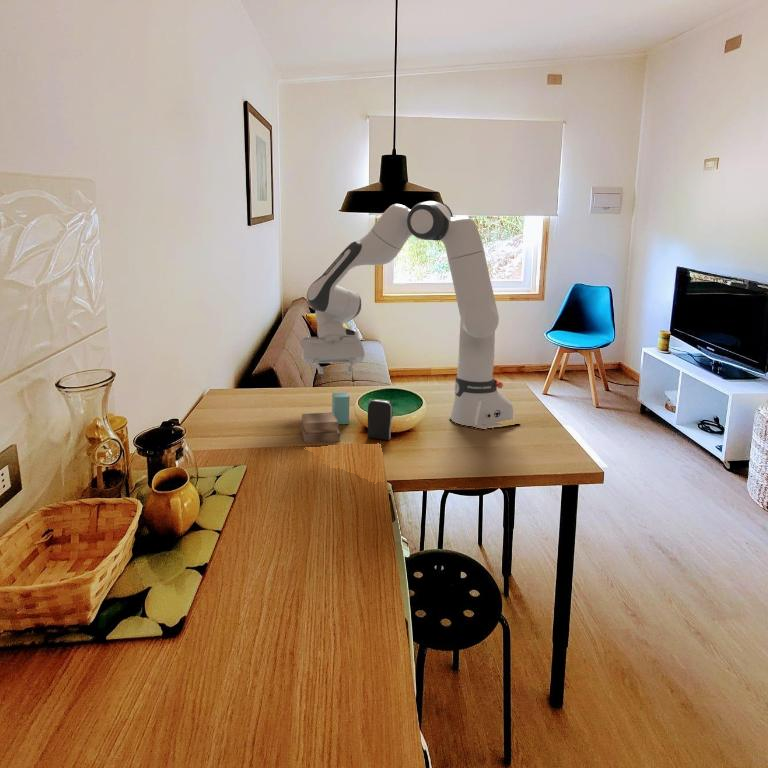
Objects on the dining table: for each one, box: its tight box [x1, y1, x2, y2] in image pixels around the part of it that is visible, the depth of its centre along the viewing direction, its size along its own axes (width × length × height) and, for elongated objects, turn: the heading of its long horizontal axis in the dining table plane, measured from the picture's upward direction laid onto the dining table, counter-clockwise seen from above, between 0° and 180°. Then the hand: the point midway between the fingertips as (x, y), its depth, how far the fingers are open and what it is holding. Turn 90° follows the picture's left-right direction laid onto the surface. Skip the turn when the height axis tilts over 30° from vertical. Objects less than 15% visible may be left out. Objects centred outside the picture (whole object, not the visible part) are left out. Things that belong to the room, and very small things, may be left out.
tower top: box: [301, 411, 339, 433], centre depth 175 cm, size 9×9×3 cm
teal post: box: [331, 392, 351, 424], centre depth 187 cm, size 4×4×9 cm
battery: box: [367, 398, 394, 441], centre depth 175 cm, size 7×4×11 cm, turn 73°
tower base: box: [300, 422, 341, 444], centre depth 176 cm, size 10×10×3 cm
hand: (335, 372), depth 194 cm, fingers open, 8 cm apart
